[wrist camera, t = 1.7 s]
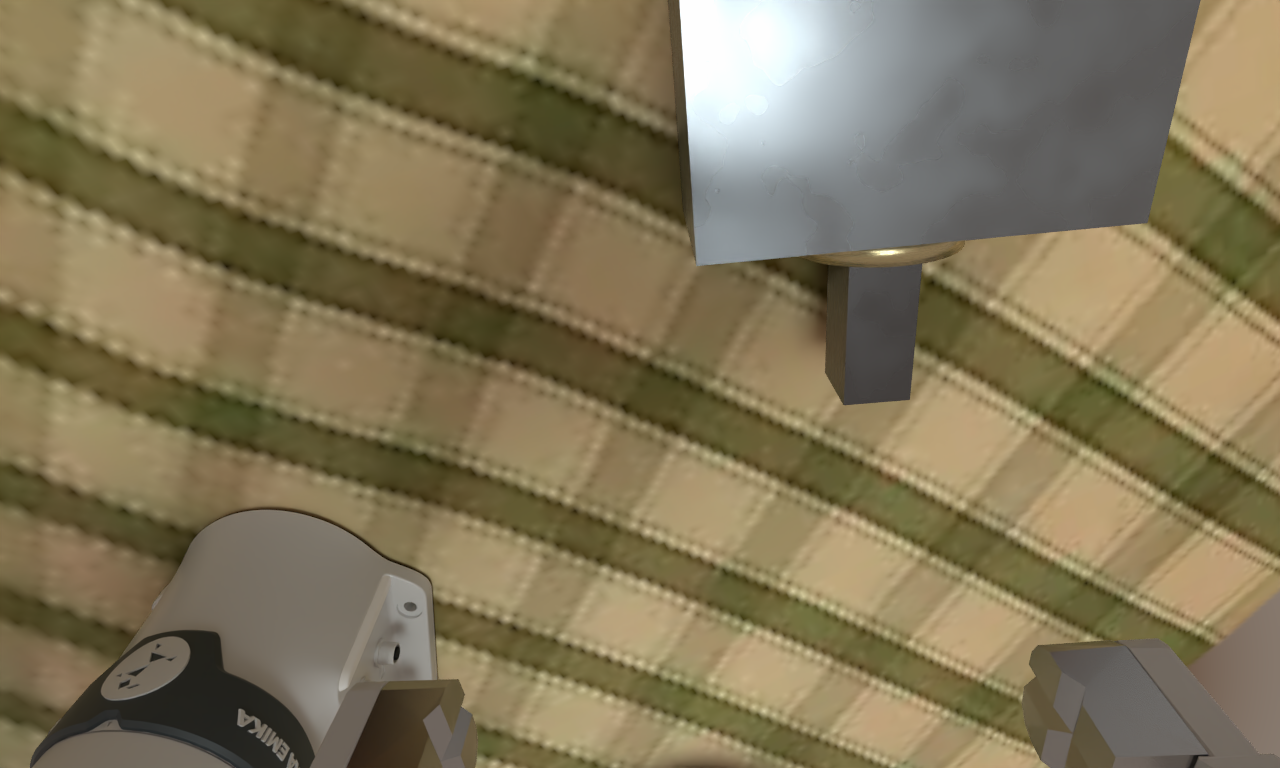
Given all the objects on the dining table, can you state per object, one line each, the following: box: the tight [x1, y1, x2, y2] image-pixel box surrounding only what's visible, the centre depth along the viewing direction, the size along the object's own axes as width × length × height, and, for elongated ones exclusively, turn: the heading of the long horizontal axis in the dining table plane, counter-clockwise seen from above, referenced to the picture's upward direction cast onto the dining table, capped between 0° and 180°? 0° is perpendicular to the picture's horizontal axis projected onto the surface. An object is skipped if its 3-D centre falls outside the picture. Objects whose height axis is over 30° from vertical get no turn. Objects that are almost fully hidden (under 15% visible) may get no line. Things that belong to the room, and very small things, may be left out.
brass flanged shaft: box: [798, 240, 965, 405], centre depth 29 cm, size 15×7×7 cm, turn 6°
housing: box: [668, 0, 1200, 266], centre depth 26 cm, size 10×16×10 cm, turn 96°
